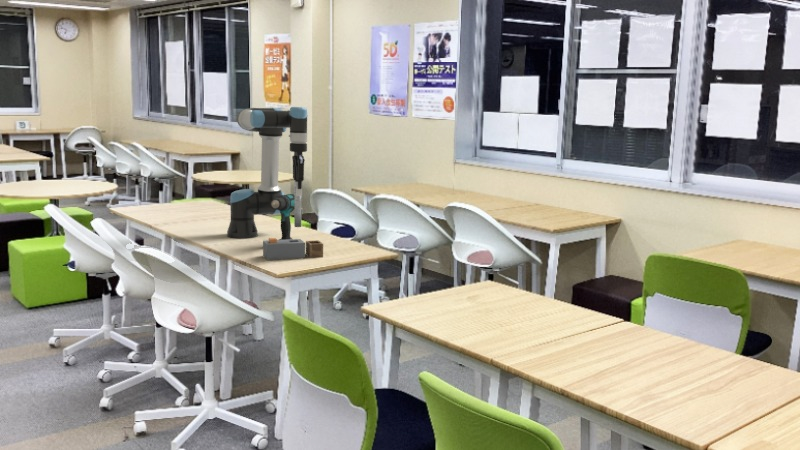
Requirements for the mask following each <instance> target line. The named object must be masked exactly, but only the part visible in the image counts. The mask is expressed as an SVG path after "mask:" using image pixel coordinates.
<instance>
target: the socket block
mask: <svg viewBox="0 0 800 450" xmlns="http://www.w3.org/2000/svg"><path fill="white" fill-rule="evenodd" d="M262 257H263V258H264V259H265V260H266V261H279V260H280V261H281V260H294V259H295V260H296V259H305V258H306V241H304V240H302V239H301V238H292V239H286V240H279V239H277V243H269V239H268V240H265V239H264V240H262Z"/></svg>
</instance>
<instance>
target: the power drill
mask: <svg viewBox="0 0 800 450" xmlns="http://www.w3.org/2000/svg"><path fill="white" fill-rule="evenodd" d="M270 204H271V207H272V208H273V209H276V210H279V211H280V213H279V214H280V232H281V238H280V239H278V240H286V239H293V237H291V231H292V230H291V229H292V225H291V213H292V212H293V211H295V195H294V193H288V194H284V195H280V196H278V197H277V198H274V199H273V200H272V201H271V203H270Z"/></svg>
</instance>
